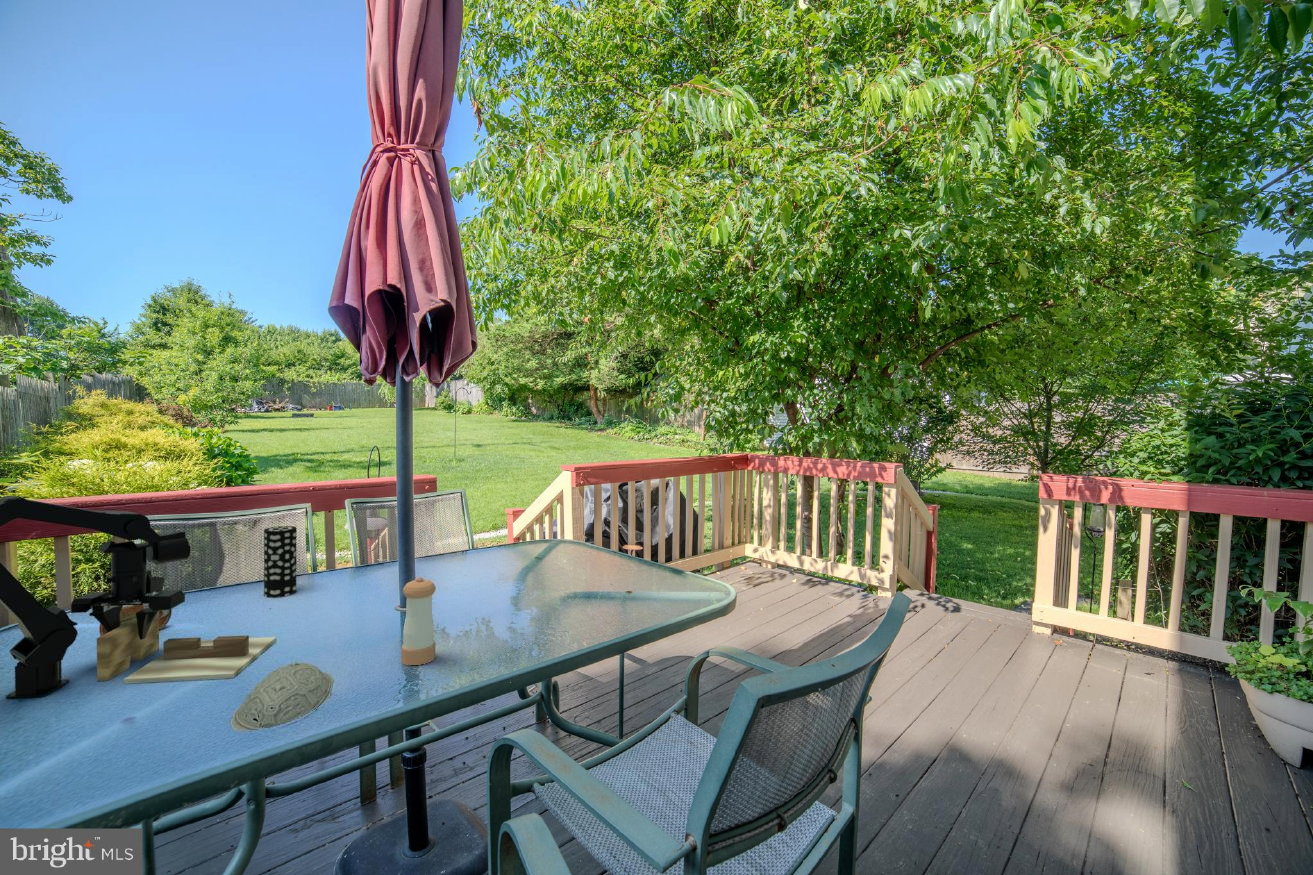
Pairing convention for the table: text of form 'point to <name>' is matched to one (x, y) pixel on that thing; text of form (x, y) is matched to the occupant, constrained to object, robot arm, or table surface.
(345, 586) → the table surface
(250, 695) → the turtle shell
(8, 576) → the robot arm
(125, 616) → the tin
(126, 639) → the oak plate
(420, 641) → the pepper shaker
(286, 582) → the white-spotted black cylinder
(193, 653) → the wooden base with bar
